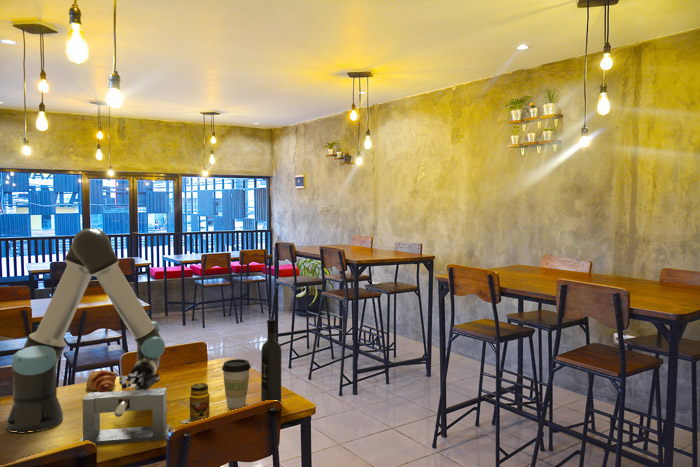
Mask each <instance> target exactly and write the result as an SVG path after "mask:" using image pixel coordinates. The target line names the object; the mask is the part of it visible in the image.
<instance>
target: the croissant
mask: <svg viewBox="0 0 700 467" xmlns="http://www.w3.org/2000/svg"><path fill="white" fill-rule="evenodd" d="M116 379H117V375H116V374H115V373H114V372H113V371H110V370H104V369H103V370H95V371H93V372H91V373H90V374H89V375H88V377H87V381H86V387H87V388H89V389H90V390H92V391H93V390H94V391H96V392H109V391H111V390H112V389H113V387H114V386H115V384H116Z"/></svg>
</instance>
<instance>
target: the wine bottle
mask: <svg viewBox="0 0 700 467" xmlns="http://www.w3.org/2000/svg"><path fill="white" fill-rule="evenodd" d="M276 320H277V319H272V318H271V319H267V320H266V323H267V324H266V326H267V339H266V341H264V343H263V344H262V346H261V350H260V351H261V353H260V354H261V355H260V356H261V357H260V361H261V369H260V372H261V373H260V378H261V379H260V380H261V381H260V382H261V384H260V387H261V388H260V390H261V391H260V393H261V394H260V397H261V398H260V400H261V401H265V400H278V401H280V402H281V403H282V351H283V350H282V347H281V345H280V343H279V342H278V341H277V340H276V326H277V323H276V322H277V321H276ZM261 401H260V402H261Z"/></svg>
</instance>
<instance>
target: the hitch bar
mask: <svg viewBox="0 0 700 467" xmlns="http://www.w3.org/2000/svg"><path fill="white" fill-rule="evenodd" d="M122 399H130V403H129V404H128V406H127V407H126V409H125V411H124V412H131V411H133V412H136V411H148V410H152V425H148V426H136V427H123V428H110V429H108V428H107V429H101V425H100V424H101V419H100V418H101V415H100V414H103V413H104V414H105V413H114V412H115V410H116V409H117V407H118V406H119V404H120V402H121V401H122ZM170 431H171V424H167V387H159V388H157V387H156V388H149V389H147V390H143V389H142V390H131V391H122V390H118V391H117V390H116V391H115V390H114V391H106V392H100V391H95V392H93V391H92V392H91V391H90V392H87V394H86V395H85V396H84V398H83V399H82V437H81V438H80V439H79V441H85V440H89V441H91V442H93V443H95V444H96V445H95V446H103V445H104V446H105V444H107V445H117V444H129V443H142V442H152V441H154V442H155V441H166V437H167V433H168V432H169V433H170ZM167 438H168V437H167Z"/></svg>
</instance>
